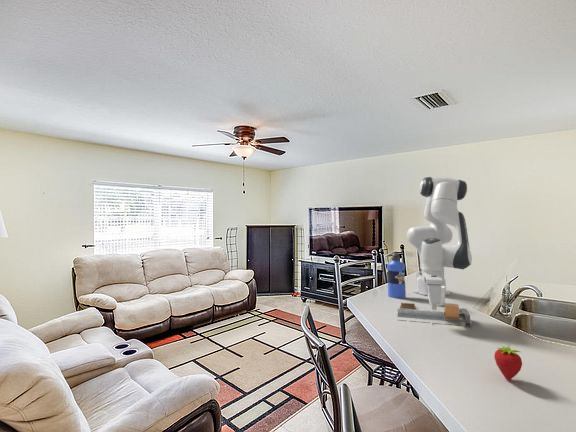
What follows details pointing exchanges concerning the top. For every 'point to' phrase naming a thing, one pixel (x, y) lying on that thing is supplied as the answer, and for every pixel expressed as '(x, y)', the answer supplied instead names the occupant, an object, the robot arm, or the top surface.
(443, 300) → the white cup
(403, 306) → the pad
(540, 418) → the top surface
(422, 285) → the robot arm
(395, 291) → the water bottle
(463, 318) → the rail
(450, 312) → the orange notched block
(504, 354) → the strawberry
